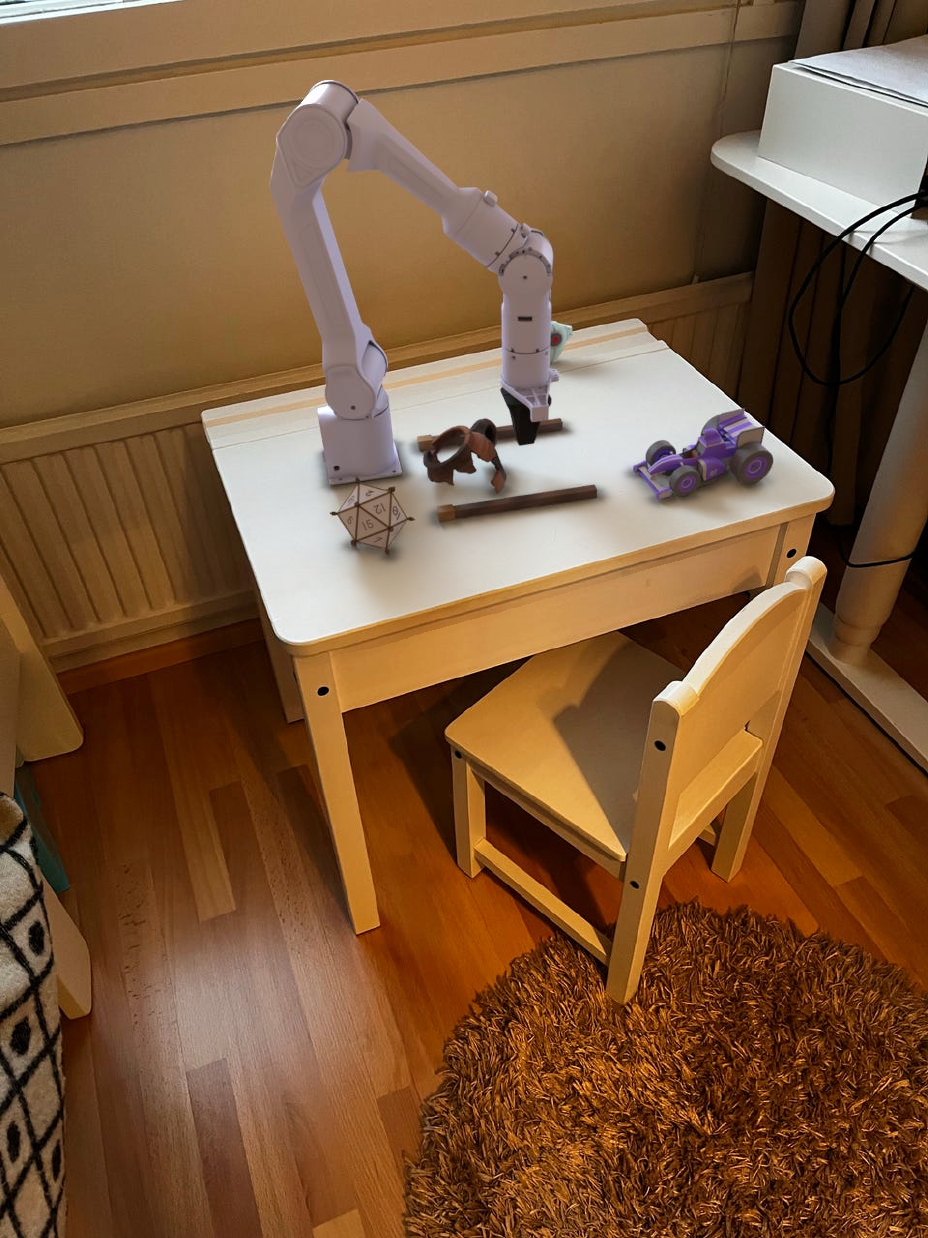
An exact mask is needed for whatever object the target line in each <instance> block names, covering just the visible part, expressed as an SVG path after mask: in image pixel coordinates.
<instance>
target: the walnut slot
mask: <svg viewBox="0 0 928 1238" xmlns="http://www.w3.org/2000/svg"><path fill="white" fill-rule="evenodd" d="M563 425H564V422H563V420H562V418H561V417H558V418H551V419H548V420H544V421H541V422H540V426H539V429H538V433H537V434H540V433H548V432H554V431H555V432H556V431H562V430H563ZM496 429H497V440H499V439H505V438H513V437H514V438H515V434H514V429H513V424H507V425H501V426H496ZM439 435H440V434H438V435H432V434H425V435H417V436H416V443H417V444H416V445H417V448H418V451H427V450H433V449H434V447H433V446H432V444H431V443H432V442H433V440H434V439H435V438H437V437H438V436H439ZM464 440H465V435H461V436H460V437H457V438H455V439H453V440H452V441H450V442H449V443H447V444H446V445H445V446H444V447H451V446H456V445H463V442H464ZM597 497H598V488H597V486H596V484H589V485H582V486H575V487H569V488H562V489H555V490H549V491H542V492H535V493H528V494H522V495H515V496H508V497H502V498H495V499H488V500H482V501H475V502H469V503H461V504H455V505H454V504H453V503H449V504H443V505H437V506H436V516H437V520H438V522H439V523H440V522H441V523H442V522H448V521H454V520H458V519H463V518H471V517H478V516H484V515H490V514H495V513H496V514H498V513H503V512H509V511H510V512H511V511H517V510H523V509H531V508H536V507H542V506H549V505H555V504H556V505H557V504H563V503H570V502H575V501H583V500H588V499H595V498H597Z"/></svg>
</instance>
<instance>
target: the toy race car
mask: <svg viewBox="0 0 928 1238" xmlns="http://www.w3.org/2000/svg"><path fill="white" fill-rule="evenodd" d="M745 411H746V408H745V407H742V408H739V409H735V410H729V411H725V412H721V413H719V414H715V415H714V416H713V417H711V418H710V419H708V420H707V421H706V422H705V424H704V425H703V426H702V429H701V431H700V436H698V437H697V441H696V443H695V444H690V445H687V446H685V447H683V448H682V449H681V451H682V452H680V453H677V450H676V448H675V446H673V445H672V444H671V442H670V441H668V440H665V439H659V440H657V441H655V442H653V443H652V444H651V445H650V446H649V447H648V448H647V450H646V451H645V460H643V461H641V462H638V463H637V464H633V466H632V472H633V473H634V474H637V473H638V474H639V475H640V476H641V477H642V478H643V480H644V481H645V482H646V483H647V484H648V485H649V486H650V488H651V489H653V491H654V492H655V493H656V495H655V497H656V498H655V499H656V500H658V501H659V500H664V499H666V498H671V497H672V496H673V493H674V494H675V495H676V496H678V497H687V496H689V495H691V494H693V493H695V491H696V490H697V489H698V488H700V487H705V486H707V485H710V484H712V483H714V482H716V481H718V480H720V479H723V478H724V477H726V476H728V475H729V470H730V472H731V474H732V475H733V476H734V477H736V479H737V480H738V481H740V482H741V483H742V484H744V485H754V484H757V483H758V482H760V481H762V480H763V479H764V478H765V477H767V475H768V474H769V473H770V471H771V470H772V468H773V464H774V457H773V454H772V453H771V452H770V451H769V450H768V449H767V448H766V447H765V446H764V445H763V444H762V443H763V439H764V438H763V437H764V434H765V430H766V426H765V425H762V426H759V427H758V426H756V425H755V424H754V423H753V422H751V420H749V419H748V417H747V415H745ZM726 467H729V470H728V469H726ZM658 474H661V475H662V476H664V477H669V479H668V486H667V487H666V488H665V487H663V486H662V485H661V484H660V483H659V482H658V481H657V480H656V479H655V478H654V477H656V475H658ZM672 492H673V493H672Z"/></svg>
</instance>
